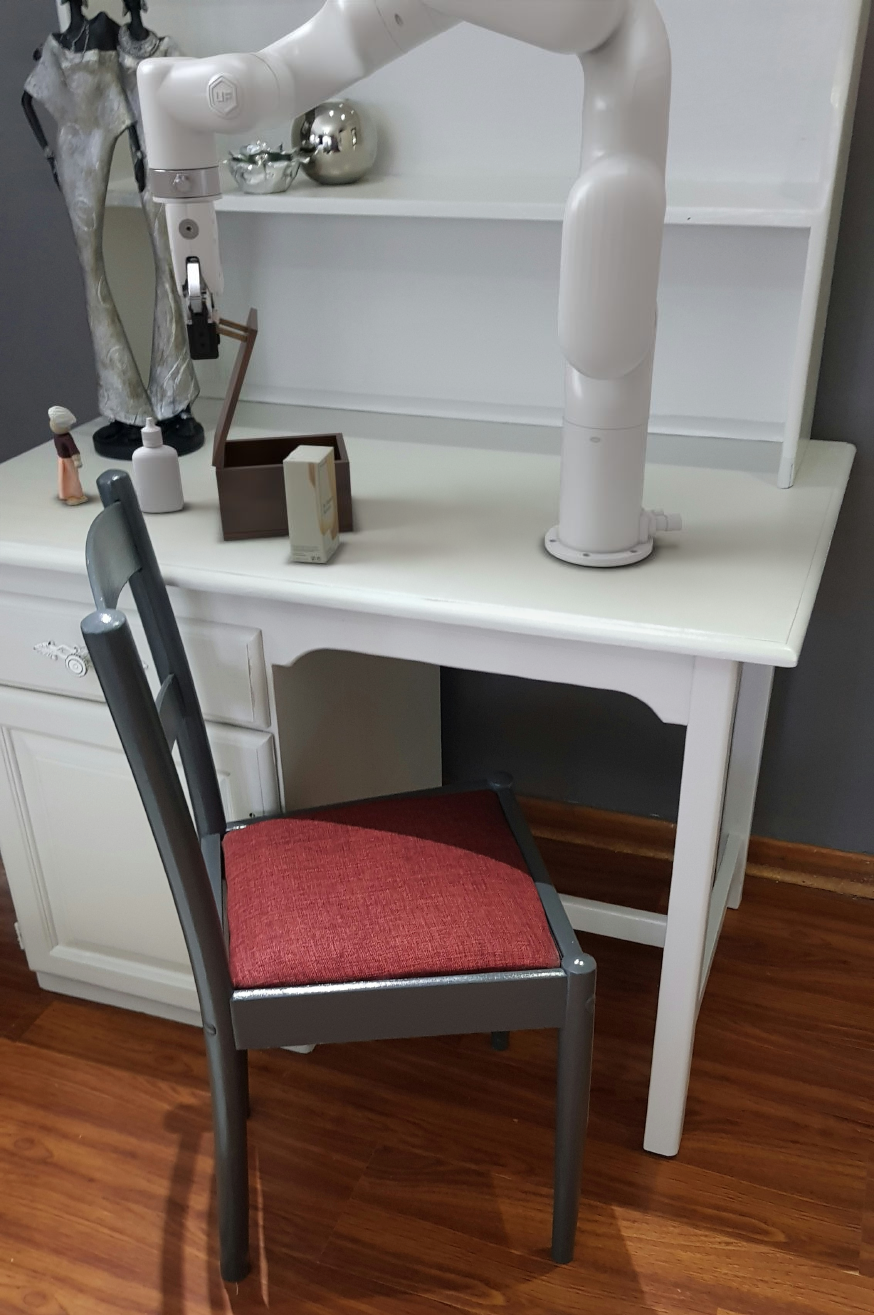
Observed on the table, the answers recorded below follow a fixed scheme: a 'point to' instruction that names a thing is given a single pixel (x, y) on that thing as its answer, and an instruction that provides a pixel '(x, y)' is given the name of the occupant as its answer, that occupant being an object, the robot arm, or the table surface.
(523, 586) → the table surface
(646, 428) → the robot arm
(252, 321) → the lid
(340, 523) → the chest
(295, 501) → the cosmetic box
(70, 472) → the grandmother figurine
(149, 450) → the eye dropper bottle
